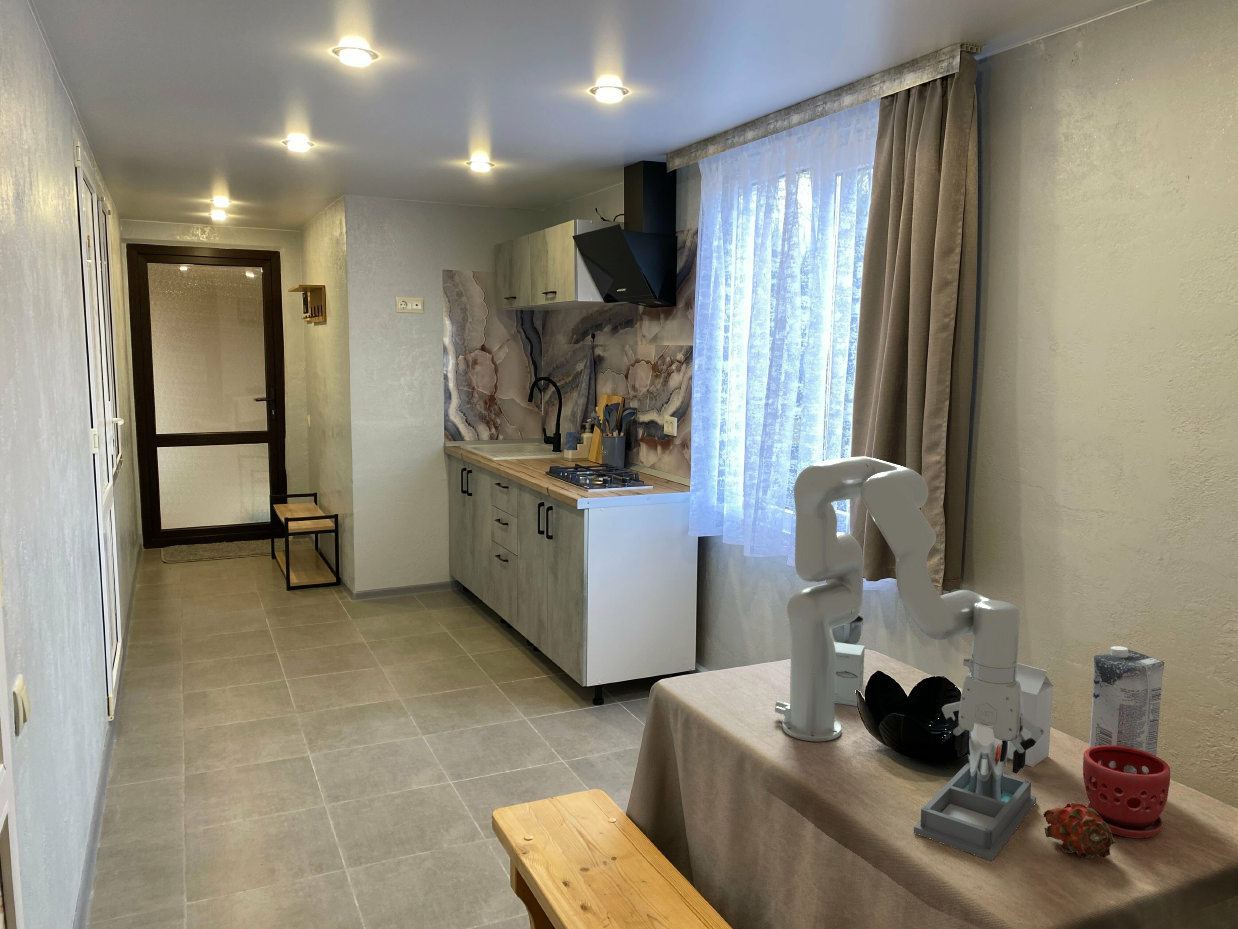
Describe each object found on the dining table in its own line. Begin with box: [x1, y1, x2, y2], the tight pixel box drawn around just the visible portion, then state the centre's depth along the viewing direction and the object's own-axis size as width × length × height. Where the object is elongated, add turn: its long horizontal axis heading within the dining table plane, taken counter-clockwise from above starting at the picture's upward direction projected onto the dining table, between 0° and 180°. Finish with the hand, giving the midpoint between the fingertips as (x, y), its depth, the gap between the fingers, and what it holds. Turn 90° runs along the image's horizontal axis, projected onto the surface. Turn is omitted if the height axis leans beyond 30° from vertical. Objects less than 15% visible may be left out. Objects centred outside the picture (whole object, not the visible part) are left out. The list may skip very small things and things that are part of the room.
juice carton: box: [1088, 645, 1165, 780], centre depth 166 cm, size 9×10×27 cm
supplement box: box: [833, 641, 866, 707], centre depth 211 cm, size 7×7×13 cm
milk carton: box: [1007, 662, 1054, 767], centre depth 181 cm, size 7×7×19 cm
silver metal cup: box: [967, 722, 1009, 802], centre depth 162 cm, size 7×7×15 cm
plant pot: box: [1082, 745, 1171, 839], centre depth 156 cm, size 13×13×12 cm
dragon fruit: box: [1042, 801, 1116, 859], centre depth 148 cm, size 8×8×12 cm
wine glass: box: [830, 614, 864, 645], centre depth 225 cm, size 8×8×15 cm
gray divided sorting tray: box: [913, 762, 1037, 862], centre depth 158 cm, size 13×24×4 cm, turn 140°
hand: (989, 762), depth 162 cm, fingers open, 9 cm apart
